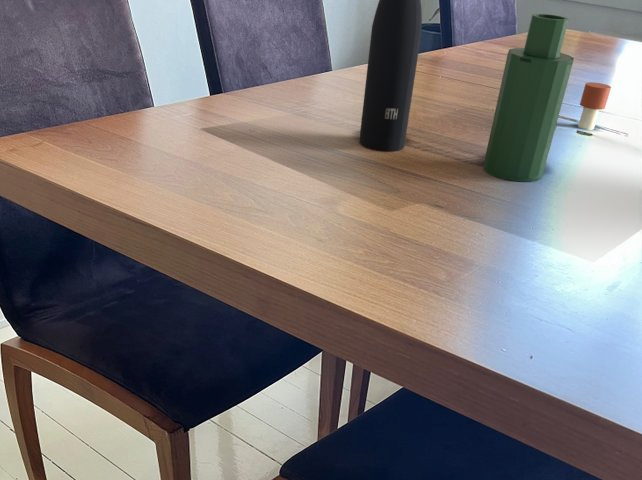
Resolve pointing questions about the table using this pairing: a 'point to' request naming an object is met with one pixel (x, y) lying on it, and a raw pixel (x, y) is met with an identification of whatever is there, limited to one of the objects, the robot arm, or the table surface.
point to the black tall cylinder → (390, 74)
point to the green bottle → (529, 102)
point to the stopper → (592, 104)
